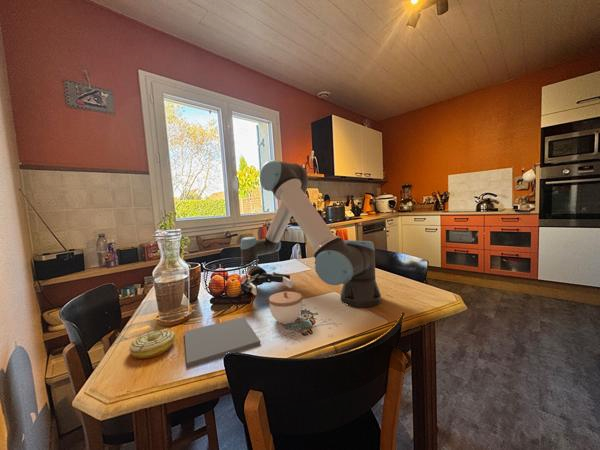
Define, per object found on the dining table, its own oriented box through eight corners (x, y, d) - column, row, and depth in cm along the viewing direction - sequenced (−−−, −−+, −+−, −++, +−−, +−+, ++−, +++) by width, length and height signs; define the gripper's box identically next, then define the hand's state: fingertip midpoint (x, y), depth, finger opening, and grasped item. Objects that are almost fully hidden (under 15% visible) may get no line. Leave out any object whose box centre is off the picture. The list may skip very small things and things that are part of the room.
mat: (243, 319, 81) (243, 316, 81) (260, 344, 65) (260, 340, 65) (184, 334, 73) (184, 331, 73) (187, 367, 57) (186, 363, 57)
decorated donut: (168, 335, 73) (167, 323, 73) (181, 348, 66) (179, 334, 66) (126, 350, 66) (125, 337, 66) (135, 367, 58) (134, 351, 58)
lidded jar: (299, 328, 73) (297, 298, 72) (265, 327, 75) (263, 297, 74) (305, 313, 83) (304, 286, 83) (276, 312, 85) (274, 286, 85)
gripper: (282, 278, 112) (304, 291, 94) (227, 288, 101) (240, 305, 82) (281, 262, 112) (303, 272, 93) (226, 270, 101) (238, 283, 82)
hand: (273, 287), depth 88 cm, fingers open, 13 cm apart
